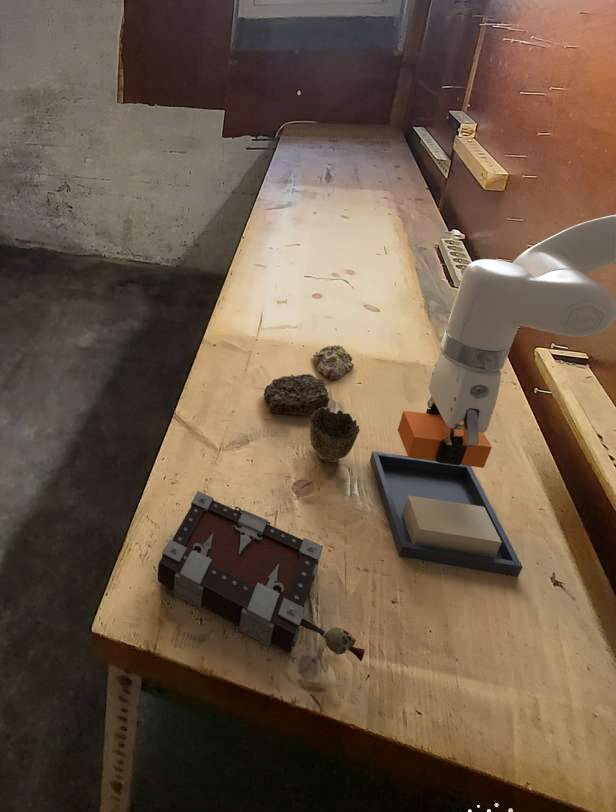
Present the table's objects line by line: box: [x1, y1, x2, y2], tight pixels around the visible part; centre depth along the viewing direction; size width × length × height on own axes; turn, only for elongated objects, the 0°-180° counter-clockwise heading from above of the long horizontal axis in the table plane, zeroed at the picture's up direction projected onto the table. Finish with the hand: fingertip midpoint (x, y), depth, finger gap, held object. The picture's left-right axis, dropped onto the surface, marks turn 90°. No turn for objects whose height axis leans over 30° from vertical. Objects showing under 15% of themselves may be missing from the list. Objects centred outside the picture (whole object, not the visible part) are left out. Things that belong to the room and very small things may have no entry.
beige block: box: [402, 495, 502, 558], centre depth 80 cm, size 10×6×4 cm, turn 76°
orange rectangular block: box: [397, 410, 492, 469], centre depth 84 cm, size 10×6×4 cm, turn 76°
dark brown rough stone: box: [263, 373, 331, 416], centre depth 108 cm, size 12×10×5 cm
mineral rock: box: [312, 344, 355, 380], centre depth 119 cm, size 11×4×8 cm
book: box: [157, 490, 366, 662], centre depth 74 cm, size 15×25×5 cm, turn 57°
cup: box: [309, 407, 361, 464], centre depth 95 cm, size 8×7×8 cm
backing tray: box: [369, 451, 523, 578], centre depth 85 cm, size 15×19×3 cm
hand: (440, 445), depth 85 cm, fingers closed on orange rectangular block, 6 cm apart
